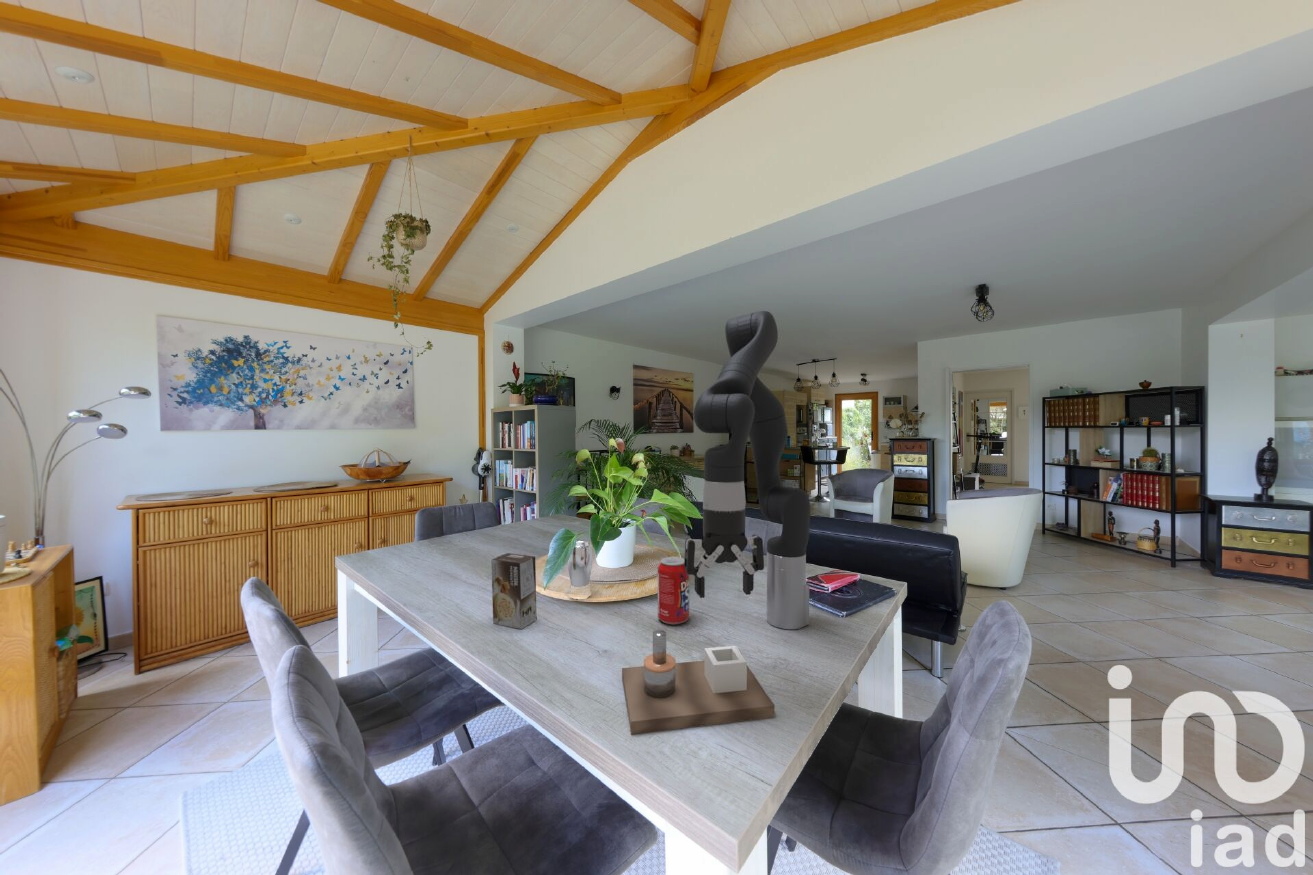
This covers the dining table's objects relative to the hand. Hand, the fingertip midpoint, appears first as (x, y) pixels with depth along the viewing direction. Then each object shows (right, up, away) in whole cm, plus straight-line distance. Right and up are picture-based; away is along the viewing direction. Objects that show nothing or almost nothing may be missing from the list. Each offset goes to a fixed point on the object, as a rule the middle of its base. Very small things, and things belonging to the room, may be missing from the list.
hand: (724, 594), depth 83 cm
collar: (0, -16, 0) cm, 16 cm away
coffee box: (-47, -18, +31) cm, 59 cm away
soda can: (-8, -17, +32) cm, 37 cm away
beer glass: (-34, -17, +48) cm, 61 cm away
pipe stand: (-6, -18, 0) cm, 19 cm away
